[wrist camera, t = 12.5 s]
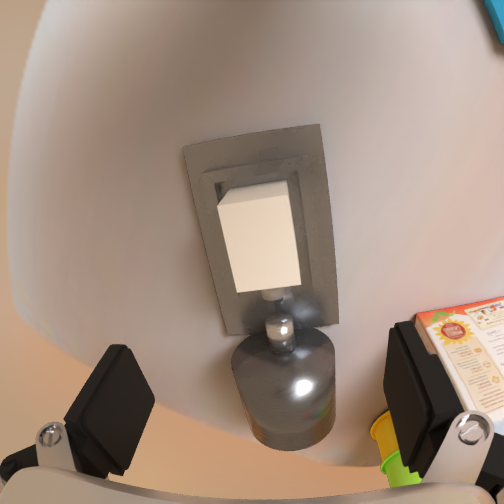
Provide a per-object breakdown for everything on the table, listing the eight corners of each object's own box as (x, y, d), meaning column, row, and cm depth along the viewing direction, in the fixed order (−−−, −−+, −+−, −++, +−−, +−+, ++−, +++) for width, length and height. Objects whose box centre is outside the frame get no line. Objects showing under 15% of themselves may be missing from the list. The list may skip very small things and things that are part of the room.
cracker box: (408, 350, 34) (462, 497, 15) (415, 310, 32) (491, 464, 13) (495, 332, 33) (567, 444, 13) (506, 294, 30) (596, 404, 11)
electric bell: (185, 146, 28) (140, 159, 18) (318, 123, 26) (337, 124, 17) (245, 389, 39) (236, 452, 30) (339, 381, 37) (348, 444, 28)
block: (230, 188, 28) (217, 206, 22) (286, 179, 27) (287, 194, 22) (249, 279, 31) (242, 313, 26) (300, 272, 30) (303, 306, 25)
